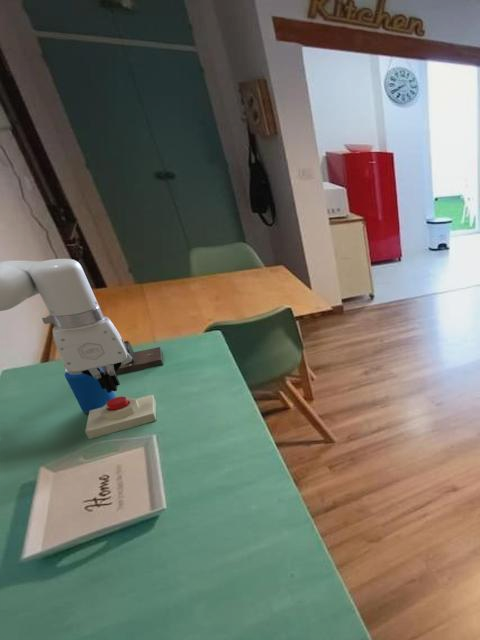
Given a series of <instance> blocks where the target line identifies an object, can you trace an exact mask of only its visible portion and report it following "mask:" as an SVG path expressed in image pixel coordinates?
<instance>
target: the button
mask: <svg viewBox="0 0 480 640" xmlns="http://www.w3.org/2000/svg"><path fill="white" fill-rule="evenodd" d="M115 397H116V398H113V399H111V400H109V401H108V402H107V403H106V404H107V406H108V409H109V410H110V411H116V410H119V409H122V408H125V407H127V406H128V405H129V403H128V401H127V398H128V397H126V396H115Z"/></svg>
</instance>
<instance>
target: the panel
mask: <svg viewBox="0 0 480 640" xmlns="http://www.w3.org/2000/svg"><path fill="white" fill-rule="evenodd" d="M133 352H134V354H135V355H134V362H132V363H128V364H124V365H121V366H120V367H119V369H118V370H117V371H116V372H115V373H116V375H117V376H120V375H125V374H129V373H134V372H138V371H143V370H147V369H152V368H156V367H160V366H164V357H163V350H162V348H161V346H158V347H152V348H147V349H142V350H137V351H133ZM102 369H103V371H104V372H105V373H107V368H106V366H103V367H102Z"/></svg>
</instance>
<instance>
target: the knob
mask: <svg viewBox="0 0 480 640" xmlns="http://www.w3.org/2000/svg"><path fill="white" fill-rule="evenodd" d="M123 341H124V343H125V346H126V348H127V352H128V353H129V355H130V356H131V357H132V361H131V362H129V363H132V362H134V355H135V354H134V352H135V351H134V349H133V347H132V345H131V341H130V340H123ZM127 364H128V363H127Z"/></svg>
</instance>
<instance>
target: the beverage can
mask: <svg viewBox="0 0 480 640" xmlns="http://www.w3.org/2000/svg"><path fill="white" fill-rule="evenodd" d="M100 369H101V370H102V371H103V369H102V367H100ZM64 371H65V373H64V377H65V380H66V381H67V383H68V386H69V388H70V389H71V391H72V393H73V395H74V397H75V399H76V402H77V403H78V405H79V408H80V409H81V411H82V413H85V414H89V411H90V410H93V409H97V408H101V407H103V406H105V405H106V403H107V402H108V401H109V400H111V399H113V398H116V397H117V396H116V395H115V393H114V391H112V392H110V393H108V392H107V390H106V389H102V387H101V385H100V383H99V381H98V379H95V378H94V377H92V376H89V375H86V374H76V375H70V374H69V373H68V370H67V369H66V368H65V369H64ZM103 372H104V371H103Z"/></svg>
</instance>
